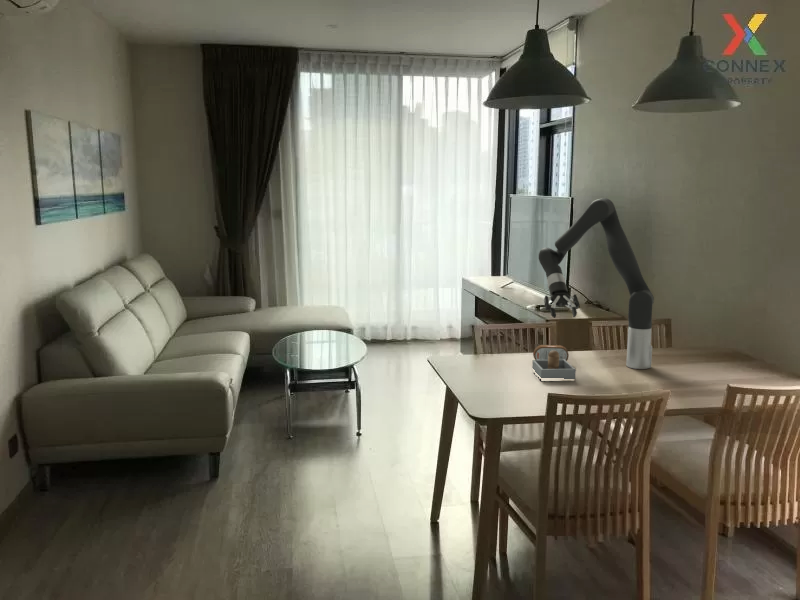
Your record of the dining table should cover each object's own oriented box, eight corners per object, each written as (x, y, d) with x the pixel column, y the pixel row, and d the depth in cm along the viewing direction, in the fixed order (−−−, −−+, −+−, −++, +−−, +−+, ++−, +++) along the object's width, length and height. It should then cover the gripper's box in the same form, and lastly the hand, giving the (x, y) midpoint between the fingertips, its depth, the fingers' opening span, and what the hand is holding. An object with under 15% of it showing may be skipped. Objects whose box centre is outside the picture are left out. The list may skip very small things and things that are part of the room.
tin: (567, 363, 278) (568, 344, 276) (568, 365, 275) (569, 346, 273) (532, 362, 279) (533, 344, 278) (533, 364, 276) (534, 345, 275)
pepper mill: (556, 372, 261) (557, 349, 259) (559, 375, 256) (560, 351, 255) (546, 372, 261) (547, 349, 259) (549, 375, 256) (549, 351, 255)
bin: (564, 371, 266) (564, 359, 265) (574, 381, 252) (575, 369, 251) (532, 371, 265) (532, 359, 265) (540, 381, 251) (541, 369, 250)
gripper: (542, 281, 274) (550, 312, 264) (575, 280, 275) (583, 310, 265) (539, 291, 280) (546, 322, 270) (571, 290, 281) (579, 320, 271)
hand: (564, 316), depth 268 cm, fingers open, 8 cm apart
